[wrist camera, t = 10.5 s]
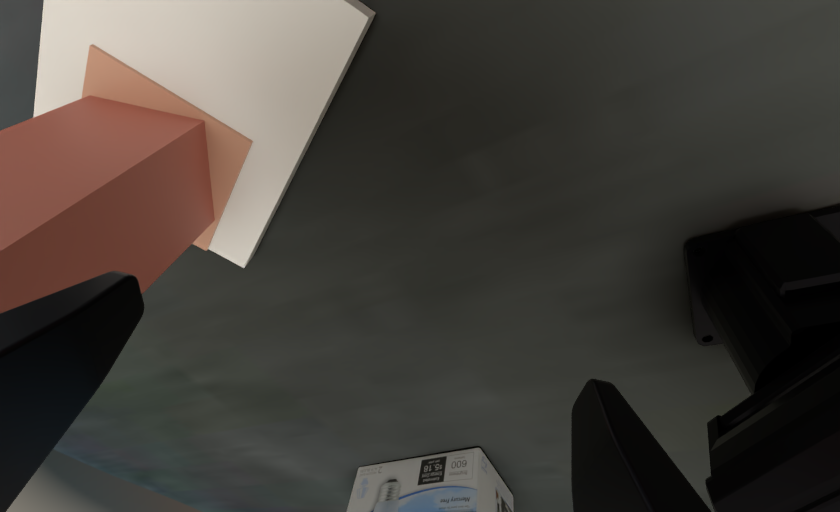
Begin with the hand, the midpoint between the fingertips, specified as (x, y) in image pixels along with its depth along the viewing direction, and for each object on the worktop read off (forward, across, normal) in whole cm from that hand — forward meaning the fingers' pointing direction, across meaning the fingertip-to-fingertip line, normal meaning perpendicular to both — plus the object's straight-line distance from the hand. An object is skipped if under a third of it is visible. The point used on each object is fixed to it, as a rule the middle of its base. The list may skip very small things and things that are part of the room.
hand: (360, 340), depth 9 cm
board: (+13, +11, +1) cm, 17 cm away
